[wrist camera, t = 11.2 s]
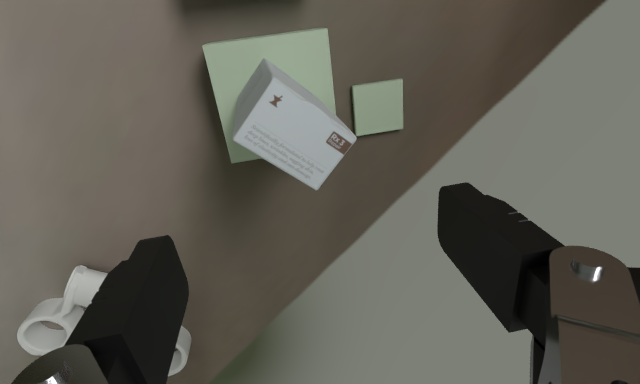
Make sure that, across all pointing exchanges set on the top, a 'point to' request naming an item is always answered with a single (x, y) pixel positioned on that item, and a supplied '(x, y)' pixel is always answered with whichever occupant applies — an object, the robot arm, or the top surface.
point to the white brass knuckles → (77, 318)
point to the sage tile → (378, 106)
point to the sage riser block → (284, 52)
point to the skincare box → (289, 126)
